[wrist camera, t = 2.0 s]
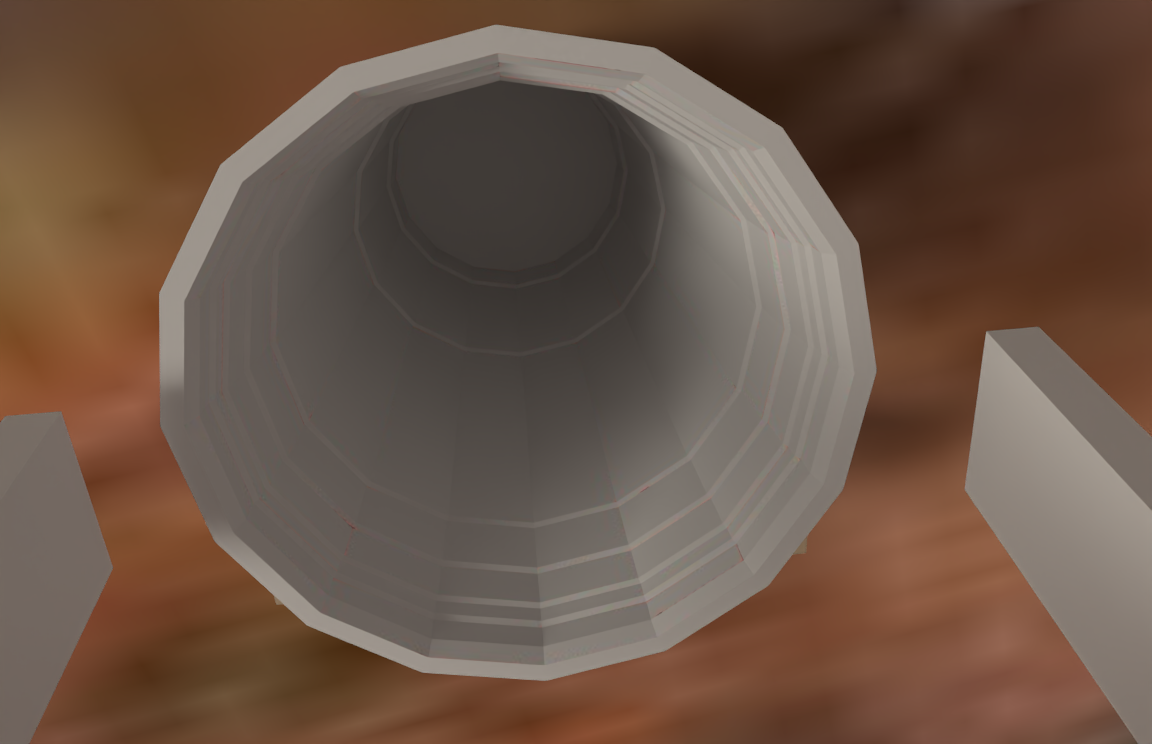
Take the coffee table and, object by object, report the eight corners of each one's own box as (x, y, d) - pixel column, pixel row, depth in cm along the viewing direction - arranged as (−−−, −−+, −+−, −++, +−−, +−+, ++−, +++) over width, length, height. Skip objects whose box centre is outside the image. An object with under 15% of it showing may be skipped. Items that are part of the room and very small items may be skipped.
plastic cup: (732, -94, 24) (927, 12, 14) (721, 338, 29) (855, 652, 19) (238, -67, 24) (48, 66, 13) (317, 368, 29) (226, 709, 18)
